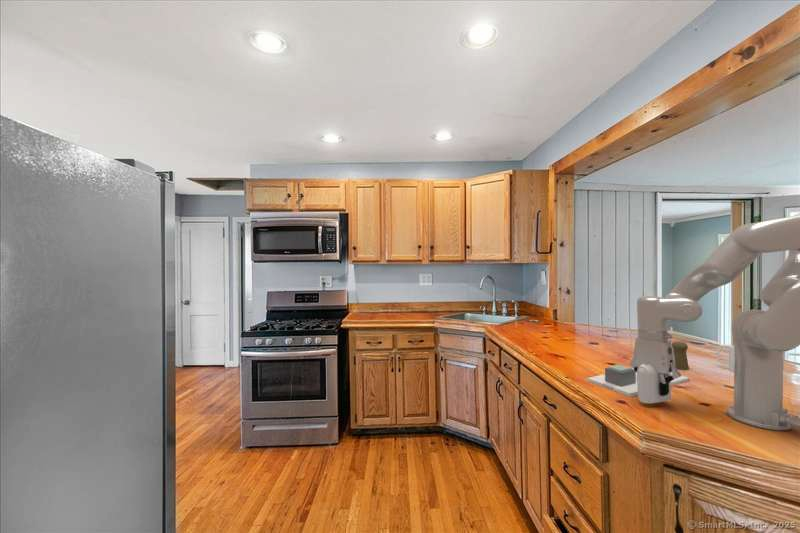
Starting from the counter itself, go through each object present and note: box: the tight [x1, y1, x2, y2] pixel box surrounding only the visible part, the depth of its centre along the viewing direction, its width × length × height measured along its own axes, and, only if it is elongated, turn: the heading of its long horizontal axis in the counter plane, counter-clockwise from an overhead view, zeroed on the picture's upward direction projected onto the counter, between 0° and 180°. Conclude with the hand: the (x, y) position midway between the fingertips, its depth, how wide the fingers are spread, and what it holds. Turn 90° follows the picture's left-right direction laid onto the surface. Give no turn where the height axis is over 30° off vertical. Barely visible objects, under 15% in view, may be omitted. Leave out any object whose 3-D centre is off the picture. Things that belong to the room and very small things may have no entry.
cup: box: [716, 344, 735, 374], centre depth 135 cm, size 8×12×10 cm
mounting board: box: [586, 364, 690, 398], centre depth 126 cm, size 16×35×10 cm, turn 113°
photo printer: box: [637, 363, 672, 404], centre depth 106 cm, size 10×4×12 cm, turn 103°
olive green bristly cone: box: [671, 341, 689, 371], centre depth 140 cm, size 6×6×11 cm
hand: (654, 391), depth 106 cm, fingers closed on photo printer, 4 cm apart
